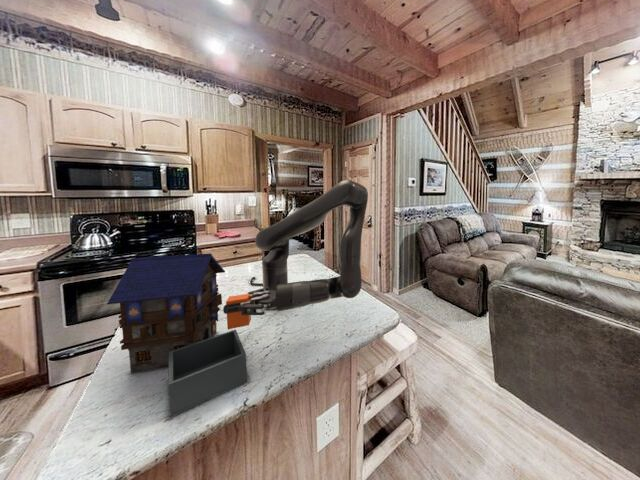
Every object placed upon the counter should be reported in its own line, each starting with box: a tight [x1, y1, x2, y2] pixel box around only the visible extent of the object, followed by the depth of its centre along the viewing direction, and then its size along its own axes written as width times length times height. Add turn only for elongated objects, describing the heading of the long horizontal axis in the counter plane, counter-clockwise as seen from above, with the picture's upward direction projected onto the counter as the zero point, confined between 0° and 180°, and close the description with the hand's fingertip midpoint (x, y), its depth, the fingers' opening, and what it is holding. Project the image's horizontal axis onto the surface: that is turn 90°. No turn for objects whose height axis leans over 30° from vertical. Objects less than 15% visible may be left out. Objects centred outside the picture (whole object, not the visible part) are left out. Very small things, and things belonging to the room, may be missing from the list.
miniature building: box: [106, 252, 226, 374], centre depth 76 cm, size 19×21×30 cm
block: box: [225, 293, 252, 330], centre depth 71 cm, size 3×5×8 cm, turn 113°
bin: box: [167, 328, 248, 418], centre depth 66 cm, size 15×15×8 cm
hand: (226, 306), depth 69 cm, fingers closed on block, 3 cm apart
